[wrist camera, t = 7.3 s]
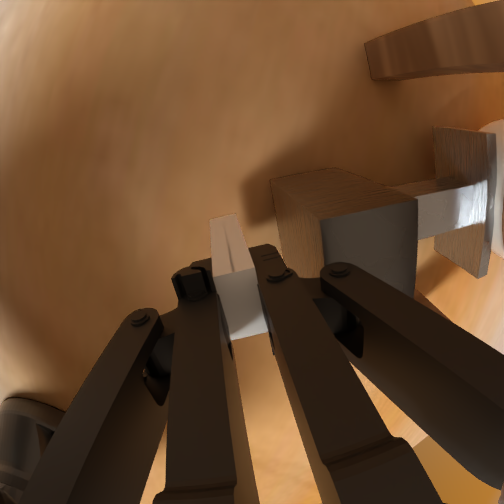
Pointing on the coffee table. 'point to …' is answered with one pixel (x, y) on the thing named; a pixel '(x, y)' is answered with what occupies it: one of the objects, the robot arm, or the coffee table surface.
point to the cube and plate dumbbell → (393, 214)
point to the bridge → (441, 53)
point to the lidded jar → (498, 187)
